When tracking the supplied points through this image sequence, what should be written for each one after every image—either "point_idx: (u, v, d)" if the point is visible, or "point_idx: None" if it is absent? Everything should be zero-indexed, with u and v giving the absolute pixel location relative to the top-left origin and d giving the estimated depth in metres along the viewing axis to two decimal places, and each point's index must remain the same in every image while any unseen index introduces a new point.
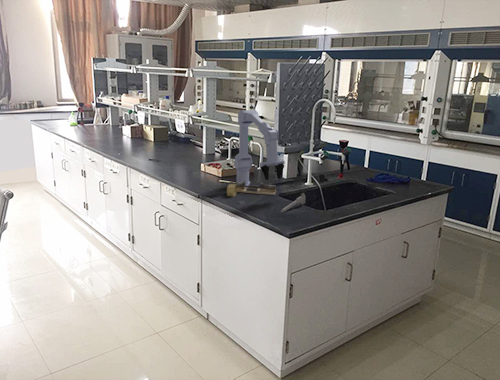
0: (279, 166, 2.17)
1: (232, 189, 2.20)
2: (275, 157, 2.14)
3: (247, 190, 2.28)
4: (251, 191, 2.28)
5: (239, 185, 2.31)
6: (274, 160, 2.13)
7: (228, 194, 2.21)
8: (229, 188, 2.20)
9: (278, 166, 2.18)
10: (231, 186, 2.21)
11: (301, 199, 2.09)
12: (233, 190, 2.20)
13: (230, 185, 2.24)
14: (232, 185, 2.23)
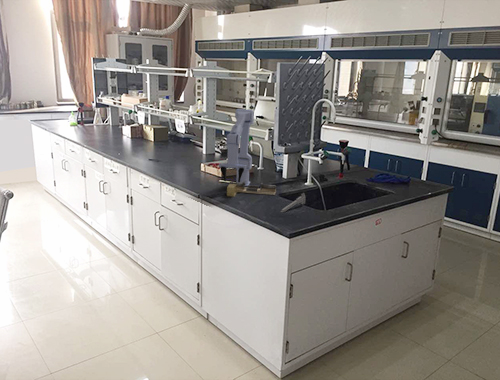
0: None
1: (232, 189, 2.20)
2: (232, 161, 2.17)
3: (247, 190, 2.28)
4: (251, 191, 2.28)
5: (239, 185, 2.31)
6: (230, 164, 2.17)
7: (228, 194, 2.21)
8: (229, 188, 2.20)
9: (239, 170, 2.20)
10: (231, 186, 2.21)
11: (301, 199, 2.09)
12: (233, 190, 2.20)
13: (230, 185, 2.24)
14: (232, 185, 2.23)
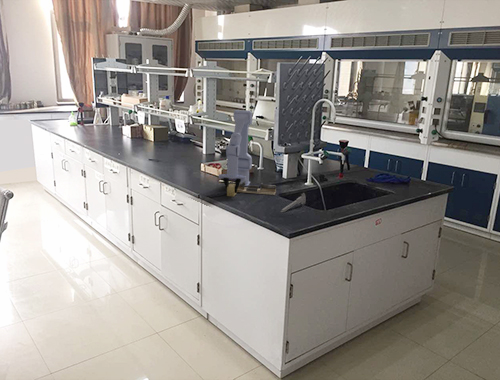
0: None
1: (232, 189, 2.20)
2: (232, 172, 2.18)
3: (247, 190, 2.28)
4: (251, 191, 2.28)
5: (239, 185, 2.31)
6: (230, 175, 2.19)
7: (228, 194, 2.21)
8: (229, 188, 2.20)
9: None
10: (231, 186, 2.21)
11: (301, 199, 2.09)
12: (233, 190, 2.20)
13: (230, 185, 2.24)
14: (232, 185, 2.23)
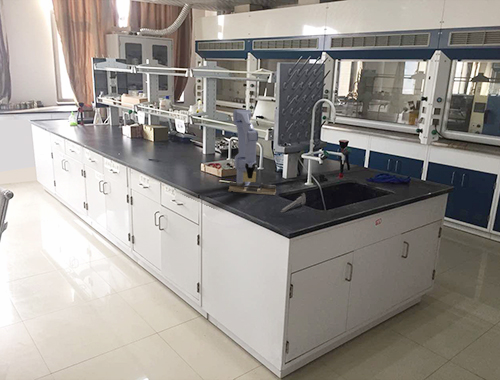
0: None
1: (243, 174, 2.27)
2: (245, 156, 2.25)
3: (247, 190, 2.28)
4: (251, 191, 2.28)
5: (239, 185, 2.31)
6: None
7: None
8: (243, 172, 2.28)
9: None
10: (246, 172, 2.28)
11: (301, 199, 2.09)
12: (243, 175, 2.27)
13: None
14: None
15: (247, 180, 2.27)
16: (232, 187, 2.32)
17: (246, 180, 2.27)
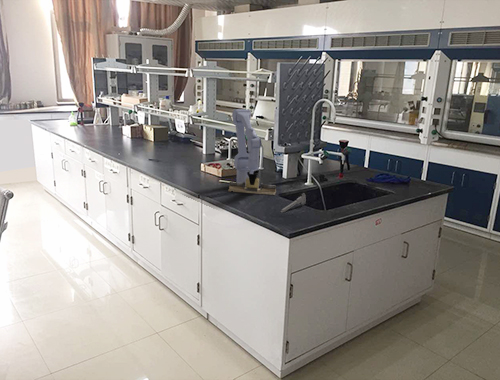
0: None
1: (246, 180, 2.30)
2: (248, 163, 2.28)
3: (247, 190, 2.28)
4: (251, 191, 2.28)
5: (239, 185, 2.31)
6: None
7: None
8: None
9: None
10: (248, 178, 2.30)
11: (301, 199, 2.09)
12: None
13: None
14: None
15: (249, 186, 2.29)
16: (232, 187, 2.32)
17: (248, 186, 2.29)
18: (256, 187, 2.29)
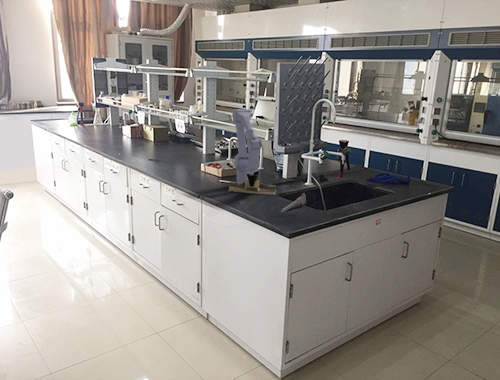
0: None
1: None
2: (248, 164, 2.28)
3: (247, 190, 2.28)
4: (251, 191, 2.28)
5: (239, 185, 2.31)
6: None
7: None
8: (246, 181, 2.31)
9: None
10: (248, 180, 2.30)
11: (301, 199, 2.09)
12: None
13: None
14: None
15: None
16: (232, 187, 2.32)
17: None
18: None
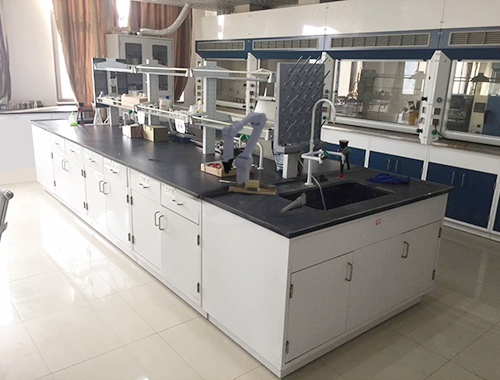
0: None
1: None
2: (223, 151, 2.31)
3: (247, 190, 2.28)
4: (251, 191, 2.28)
5: (239, 185, 2.31)
6: None
7: None
8: (246, 181, 2.31)
9: None
10: (248, 180, 2.30)
11: (301, 199, 2.09)
12: None
13: (253, 180, 2.31)
14: (252, 181, 2.30)
15: None
16: (232, 187, 2.32)
17: None
18: None
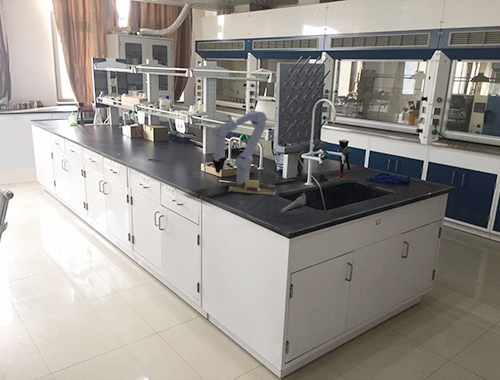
0: None
1: None
2: None
3: (247, 190, 2.28)
4: (251, 191, 2.28)
5: (239, 185, 2.31)
6: None
7: None
8: (246, 181, 2.31)
9: None
10: (248, 180, 2.30)
11: (301, 199, 2.09)
12: None
13: (253, 180, 2.31)
14: (252, 181, 2.30)
15: None
16: (232, 187, 2.32)
17: None
18: None
